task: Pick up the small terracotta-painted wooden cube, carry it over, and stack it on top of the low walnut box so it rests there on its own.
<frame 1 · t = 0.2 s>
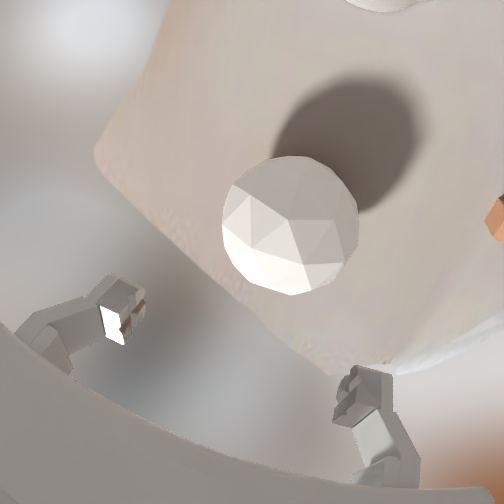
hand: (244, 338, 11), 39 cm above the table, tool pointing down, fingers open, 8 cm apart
polyhedron: (301, 193, 50), on the table
cube: (500, 215, 38), on the table
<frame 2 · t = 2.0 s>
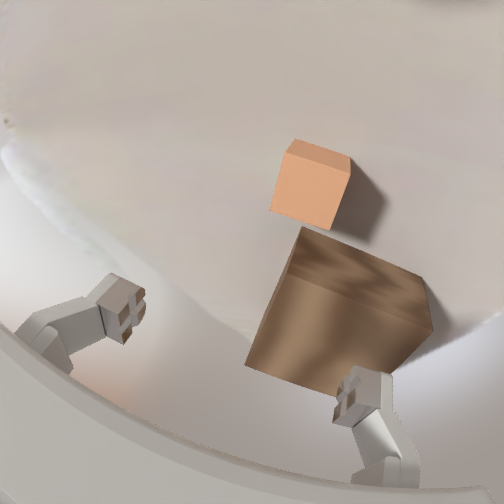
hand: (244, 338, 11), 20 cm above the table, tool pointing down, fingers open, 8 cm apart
cube: (314, 172, 26), on the table
walnut box: (337, 298, 33), on the table
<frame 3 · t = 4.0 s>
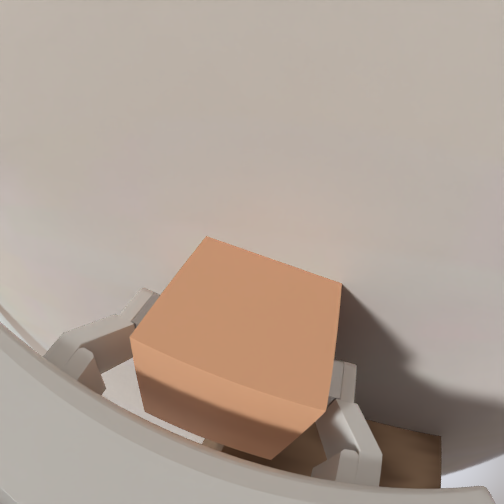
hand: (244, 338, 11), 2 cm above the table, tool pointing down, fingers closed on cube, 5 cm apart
cube: (258, 307, 12), on the table, touching gripper
walnut box: (307, 446, 19), on the table
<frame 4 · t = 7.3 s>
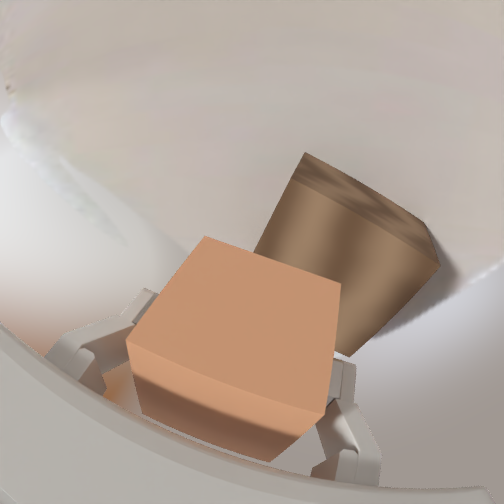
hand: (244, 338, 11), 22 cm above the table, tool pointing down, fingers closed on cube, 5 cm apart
cube: (256, 308, 12), point 20 cm above the table, touching gripper
walnut box: (334, 239, 32), on the table
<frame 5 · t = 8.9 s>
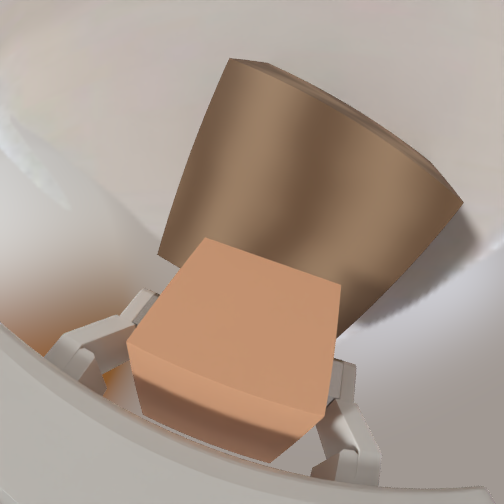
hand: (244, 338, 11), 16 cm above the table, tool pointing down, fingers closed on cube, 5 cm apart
cube: (256, 309, 12), point 14 cm above the table, touching gripper
walnut box: (308, 182, 23), on the table
when the fingers open (12 cm above the table, at t = 10.1 s): cube drops 2 cm, point 8 cm above the table.
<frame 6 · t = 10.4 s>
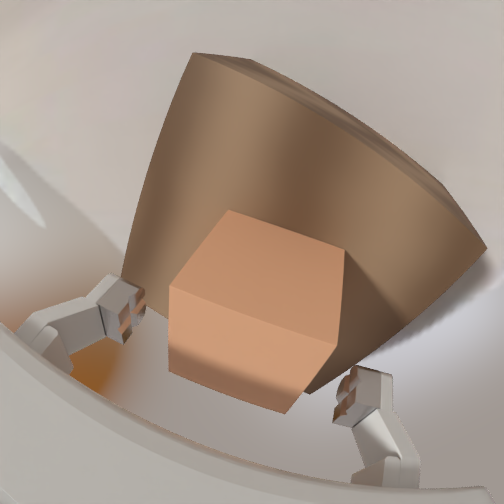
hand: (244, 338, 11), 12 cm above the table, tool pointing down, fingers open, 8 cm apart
cube: (271, 275, 14), point 8 cm above the table
walnut box: (297, 203, 20), on the table
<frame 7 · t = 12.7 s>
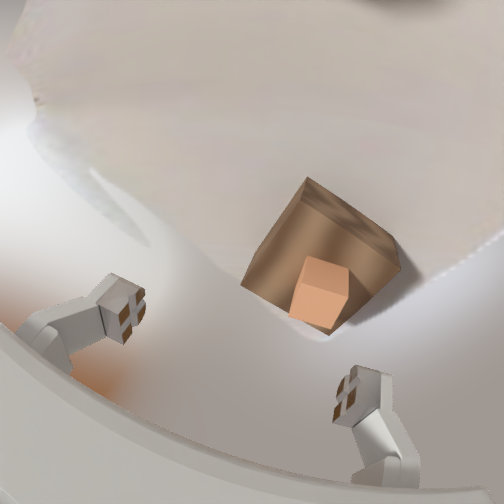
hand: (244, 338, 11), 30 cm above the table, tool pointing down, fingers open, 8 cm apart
cube: (321, 278, 35), point 8 cm above the table, touching walnut box
walnut box: (322, 243, 42), on the table, touching cube
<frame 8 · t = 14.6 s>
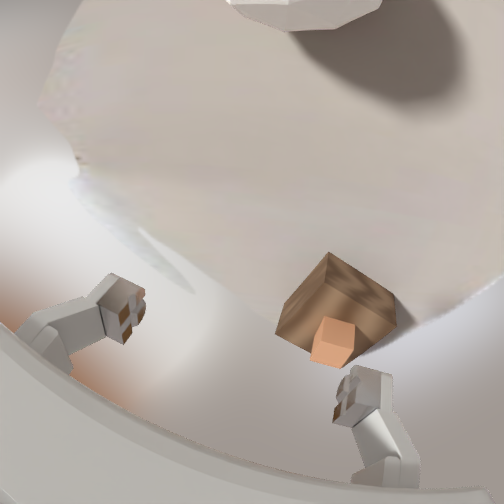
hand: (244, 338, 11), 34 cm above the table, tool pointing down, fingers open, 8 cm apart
cube: (334, 330, 45), point 8 cm above the table
walnut box: (338, 298, 52), on the table
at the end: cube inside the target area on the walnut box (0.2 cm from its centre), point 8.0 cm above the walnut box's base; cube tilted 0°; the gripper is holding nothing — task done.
